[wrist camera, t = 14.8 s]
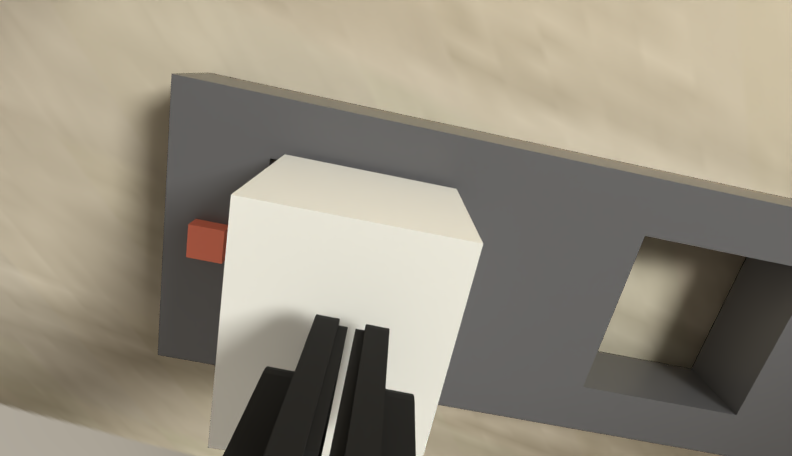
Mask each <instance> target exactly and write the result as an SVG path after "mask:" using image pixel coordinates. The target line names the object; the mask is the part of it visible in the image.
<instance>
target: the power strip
mask: <svg viewBox="0 0 792 456" xmlns="http://www.w3.org/2000/svg"><path fill="white" fill-rule="evenodd" d="M285 154H286V155H291V156H296V157H301V158H306V159H311V160H316V161H321V162H326V163H331V164H336V165H341V166H346V167H351V168H355V169H360V170H365V171H370V172H375V173H380V174H385V175H390V176H395V177H400V178H405V179H410V180H415V181H420V182H425V183H430V184H435V185H440V186H445V187H450V188H455V189H457V191H458V193H459V195H460V197H461V199H462V201H463V203H464V205H465V207H466V209H467V211H468V213H469V215H470V217H471V219H472V222H473V224H474V226H475V228H476V230H477V232H478V234H479V236H480V238H481V240H482V242H483V247H482V250H481V254H480V257H479V261H478V264H477V268H476V271H475V275H474V278H473V282H472V285H471V289H470V292H469V296H468V300H467V303H466V307H465V310H464V314H463V317H462V321H461V324H460V328H459V331H458V335H457V338H456V342H455V345H454V349H453V352H452V356H451V360H450V363H449V367H448V370H447V374H446V377H445V381H444V384H443V388H442V391H441V395H440V398H439V402H438V405H443V406H448V407H454V408H459V409H465V410H471V411H476V412H482V413H488V414H493V415H499V416H504V417H510V418H516V419H521V420H527V421H533V422H538V423H544V424H550V425H555V426H561V427H566V428H572V429H578V430H583V431H589V432H595V433H600V434H606V435H611V436H617V437H623V438H628V439H634V440H640V441H645V442H651V443H656V444H662V445H668V446H673V447H679V448H685V449H690V450H696V451H701V452H707V453H713V454H718V455H724V456H792V199H790V198H786V197H781V196H777V195H772V194H767V193H763V192H758V191H753V190H749V189H744V188H740V187H735V186H730V185H726V184H721V183H716V182H712V181H707V180H703V179H698V178H693V177H689V176H684V175H679V174H675V173H670V172H666V171H661V170H656V169H652V168H647V167H642V166H638V165H633V164H629V163H624V162H619V161H615V160H610V159H605V158H601V157H596V156H592V155H587V154H582V153H578V152H573V151H568V150H564V149H559V148H555V147H550V146H545V145H541V144H536V143H531V142H527V141H522V140H518V139H513V138H508V137H504V136H499V135H494V134H490V133H485V132H481V131H476V130H471V129H467V128H462V127H457V126H453V125H448V124H444V123H439V122H434V121H430V120H425V119H421V118H416V117H411V116H407V115H402V114H397V113H393V112H388V111H384V110H379V109H374V108H370V107H365V106H360V105H356V104H351V103H347V102H342V101H337V100H333V99H328V98H323V97H319V96H314V95H310V94H305V93H300V92H296V91H291V90H286V89H282V88H277V87H273V86H268V85H263V84H259V83H254V82H249V81H245V80H240V79H236V78H231V77H226V76H222V75H217V74H212V73H179V74H172V79H171V99H170V119H169V139H168V159H167V180H166V200H165V220H164V240H163V260H162V281H161V301H160V321H159V341H158V355H161V356H167V357H173V358H178V359H184V360H189V361H195V362H201V363H206V364H212V365H216V354H217V342H218V331H219V320H220V309H221V298H222V287H223V276H224V265H225V254H226V243H227V232H228V221H229V210H230V199H231V194H232V193H234V192H235V191H236V190H238V189H239V188H240V187H242V186H243V185H245V184H246V183H247V182H249V181H250V180H251V179H253V178H254V177H255V176H257V175H258V174H259V173H261V172H262V171H263V170H265V169H266V168H267V167H269V166H270V165H271V164H273V163H274V162H275V161H277V160H278V159H279V158H281V157H282V156H283V155H285ZM645 236H648V237H653V238H658V239H663V240H667V241H672V242H677V243H682V244H687V245H692V246H696V247H701V248H706V249H711V250H716V251H721V252H725V253H730V254H735V255H740V256H745V257H747V258H746V260H745V262H744V264H743V266H742V268H741V270H740V272H739V274H738V276H737V278H736V280H735V282H734V284H733V286H732V288H731V290H730V292H729V294H728V296H727V298H726V300H725V302H724V304H723V306H722V308H721V310H720V312H719V314H718V316H717V318H716V320H715V322H714V324H713V326H712V328H711V330H710V332H709V334H708V336H707V339H706V341H705V343H704V345H703V347H702V349H701V351H700V353H699V355H698V357H697V359H696V361H695V363H694V365H693V367H692V369H689V368H683V367H678V366H673V365H668V364H662V363H657V362H652V361H646V360H641V359H636V358H631V357H625V356H620V355H615V354H609V353H604V352H599V351H598V349H599V347H600V344H601V342H602V339H603V337H604V335H605V332H606V330H607V327H608V325H609V322H610V320H611V318H612V315H613V313H614V310H615V308H616V305H617V303H618V300H619V298H620V296H621V293H622V291H623V288H624V286H625V283H626V281H627V279H628V276H629V274H630V271H631V269H632V266H633V264H634V262H635V259H636V257H637V254H638V252H639V249H640V247H641V244H642V242H643V240H644V237H645Z"/></svg>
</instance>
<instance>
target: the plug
mask: <svg viewBox="0 0 792 456" xmlns="http://www.w3.org/2000/svg"><path fill="white" fill-rule="evenodd" d="M482 247H483V242H482V240H481V238H480V236H479V234H478V232H477V230H476V228H475V226H474V224H473V222H472V219H471V217H470V215H469V213H468V211H467V209H466V207H465V205H464V203H463V201H462V199H461V197H460V195H459V193H458V191H457V189H455V188H450V187H445V186H440V185H435V184H430V183H425V182H420V181H415V180H410V179H405V178H400V177H395V176H390V175H385V174H380V173H375V172H370V171H365V170H360V169H355V168H351V167H346V166H341V165H336V164H331V163H326V162H321V161H316V160H311V159H306V158H301V157H296V156H291V155H286V154H285V155H283V156H282V157H281V158H279V159H278V160H277V161H275V162H274V163H273V164H271V165H270V166H269V167H267V168H266V169H265V170H263V171H262V172H261V173H259V174H258V175H257V176H255V177H254V178H253V179H251V180H250V181H249V182H247V183H246V184H245V185H243V186H242V187H240V188H239V189H238V190H236V191H235V192H234V193H232V194H231V199H230V210H229V221H228V232H227V243H226V254H225V265H224V276H223V287H222V298H221V309H220V320H219V331H218V342H217V354H216V365H215V376H214V387H213V398H212V409H211V420H210V431H209V442H208V448H214V449H221V450H226V448H227V446H228V444H229V442H230V440H231V438H232V436H233V434H234V431H235V429H236V427H237V425H238V423H239V421H240V419H241V417H242V415H243V413H244V410H245V408H246V406H247V404H248V402H249V400H250V398H251V396H252V394H253V392H254V389H255V387H256V385H257V383H258V381H259V379H260V377H261V375H262V373H263V371H264V369H265V368H266V367H267V366H269V367H274V368H279V369H285V370H290V371H295V369H296V367H297V364H298V361H299V359H300V356H301V353H302V351H303V348H304V345H305V342H306V340H307V337H308V334H309V332H310V329H311V326H312V324H313V321H314V318H315V316H316V314H318V315H323V316H328V317H333V318H338V319H340V322H339V325H340V326H345V327H348V329H347V334H346V339H345V344H344V349H343V354H342V359H341V364H340V369H339V374H338V379H337V384H336V389H335V394H334V399H333V404H332V409H331V414H330V419H329V424H328V428H327V433H326V438H325V442H324V447H323V451H322V456H329V454H330V449H331V444H332V439H333V434H334V430H335V425H336V420H337V415H338V410H339V406H340V401H341V396H342V391H343V386H344V381H345V377H346V372H347V367H348V362H349V357H350V353H351V348H352V343H353V338H354V333H355V329H361V330H365V326H366V324H369V325H374V326H379V327H384V328H389V329H390V330H389V346H388V360H387V374H386V389H390V390H395V391H400V392H405V393H411V394H413V395H414V399H415V441H416V456H423V455H424V451H425V448H426V444H427V441H428V437H429V434H430V430H431V427H432V423H433V420H434V416H435V413H436V409H437V405H438V402H439V398H440V395H441V391H442V388H443V384H444V381H445V377H446V374H447V370H448V367H449V363H450V360H451V356H452V352H453V349H454V345H455V342H456V338H457V335H458V331H459V328H460V324H461V321H462V317H463V314H464V310H465V307H466V303H467V300H468V296H469V292H470V289H471V285H472V282H473V278H474V275H475V271H476V268H477V264H478V261H479V257H480V254H481V250H482Z"/></svg>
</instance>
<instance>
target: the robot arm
mask: <svg viewBox="0 0 792 456" xmlns="http://www.w3.org/2000/svg"><path fill="white" fill-rule="evenodd" d="M339 322H340V319H338V318H333V317H328V316H323V315H318V314H316V316H315V318H314V321H313V324H312V326H311V329H310V332H309V334H308V337H307V340H306V342H305V345H304V348H303V351H302V353H301V356H300V359H299V361H298V364H297V367H296V369H295V371H290V370H285V369H279V368H274V367H269V366H267V367H266V368H265V369H264V371H263V373H262V375H261V377H260V379H259V381H258V383H257V385H256V387H255V389H254V392H253V394H252V396H251V398H250V400H249V402H248V404H247V406H246V408H245V410H244V413H243V415H242V417H241V419H240V421H239V423H238V425H237V427H236V429H235V431H234V434H233V436H232V438H231V440H230V442H229V444H228V446H227V448H226V450H225V452H224V454H223V456H322V451H323V447H324V442H325V438H326V433H327V428H328V424H329V419H330V414H331V409H332V404H333V399H334V394H335V389H336V384H337V379H338V374H339V369H340V364H341V359H342V354H343V349H344V344H345V339H346V334H347V329H348V327H345V326H340V325H339ZM389 330H390V329H389V328H384V327H379V326H374V325H369V324H366V326H365V330H361V329H355V333H354V338H353V343H352V348H351V353H350V357H349V362H348V367H347V372H346V377H345V381H344V386H343V391H342V396H341V401H340V406H339V410H338V415H337V420H336V425H335V430H334V434H333V439H332V444H331V449H330V454H329V456H416V441H415V399H414V395H413V394H411V393H405V392H400V391H395V390H390V389H386V374H387V360H388V346H389Z"/></svg>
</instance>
